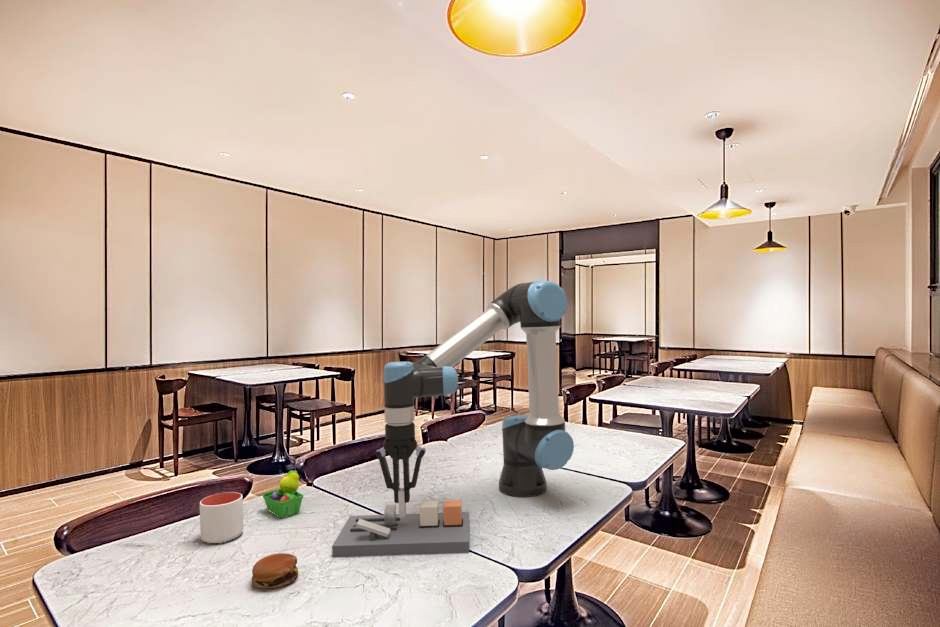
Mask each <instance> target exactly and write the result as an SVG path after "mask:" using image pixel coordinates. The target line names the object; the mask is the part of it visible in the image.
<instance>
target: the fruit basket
mask: <svg viewBox="0 0 940 627" xmlns="http://www.w3.org/2000/svg"><path fill="white" fill-rule="evenodd" d="M299 481H300V475H299V474H298V471H297V470H293V469H292V470H289V471H288V473H287V474H286V476H284V477H283V478H282V479H281V480H280V481H279V483H278V484H279V488H276V489H275V490H273V491H269V492H265V493H263V494H262V498H263V499H264V503H265V505H266V509H267V511H268V510H270V511H271V512H270V513H272V512H273V513H275V514H276V515H275V514H274V515H275V516H277V515H278V516H277V517H279V516H280V517H279V518H281V519H285V518H287V517H286V516H288V517H291V516H294V515H296V514H295V513H297V514H299V513H300V509H301V505H302V501H303V498H304V494H303V493H300V492H298V489H299V486H300V482H299ZM273 513H272V514H273ZM293 514H294V515H293ZM290 515H291V516H290ZM284 517H285V518H284Z"/></svg>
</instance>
